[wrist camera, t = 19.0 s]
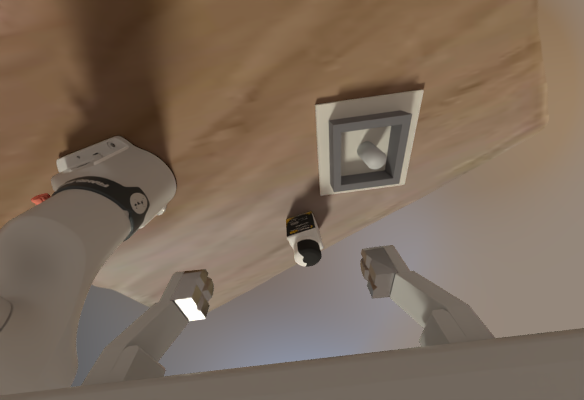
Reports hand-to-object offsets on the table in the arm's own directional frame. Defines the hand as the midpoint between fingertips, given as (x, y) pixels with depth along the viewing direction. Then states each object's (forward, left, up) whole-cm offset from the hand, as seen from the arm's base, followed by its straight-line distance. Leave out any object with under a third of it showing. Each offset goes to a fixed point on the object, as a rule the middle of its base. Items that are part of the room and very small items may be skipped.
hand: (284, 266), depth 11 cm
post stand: (+17, -8, -35) cm, 40 cm away
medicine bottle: (+2, -27, -35) cm, 45 cm away
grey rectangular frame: (+16, -8, -34) cm, 39 cm away
